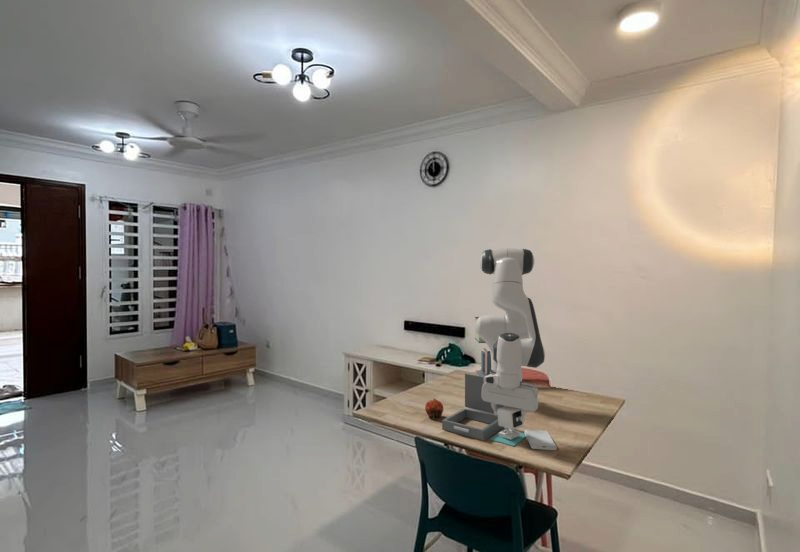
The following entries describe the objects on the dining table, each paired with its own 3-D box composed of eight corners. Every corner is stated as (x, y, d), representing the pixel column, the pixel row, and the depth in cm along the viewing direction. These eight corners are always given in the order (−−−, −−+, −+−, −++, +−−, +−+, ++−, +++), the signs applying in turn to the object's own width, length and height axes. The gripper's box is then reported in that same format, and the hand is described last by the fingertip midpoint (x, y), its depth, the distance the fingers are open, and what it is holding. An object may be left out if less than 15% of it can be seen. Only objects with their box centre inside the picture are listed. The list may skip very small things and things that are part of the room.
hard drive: (524, 429, 155) (531, 444, 143) (547, 430, 155) (556, 445, 142) (524, 433, 155) (531, 449, 143) (547, 435, 155) (556, 450, 142)
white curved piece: (507, 375, 240) (507, 316, 240) (513, 381, 226) (513, 320, 226) (474, 374, 241) (474, 316, 240) (478, 381, 227) (479, 320, 226)
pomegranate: (443, 425, 171) (447, 404, 178) (439, 414, 166) (442, 393, 174) (425, 425, 173) (430, 404, 181) (421, 414, 169) (425, 393, 177)
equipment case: (465, 416, 175) (465, 373, 174) (507, 426, 164) (507, 380, 163) (441, 429, 160) (441, 383, 160) (484, 442, 149) (484, 392, 149)
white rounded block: (513, 441, 147) (510, 411, 148) (497, 436, 153) (495, 408, 153) (524, 436, 151) (522, 407, 151) (509, 431, 157) (506, 404, 157)
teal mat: (504, 429, 160) (504, 428, 160) (527, 435, 155) (527, 434, 155) (489, 440, 151) (489, 438, 151) (513, 446, 145) (513, 445, 145)
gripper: (541, 382, 148) (540, 422, 149) (487, 373, 161) (487, 409, 161) (534, 386, 143) (534, 427, 144) (479, 376, 156) (479, 414, 156)
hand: (508, 418), depth 153 cm, fingers open, 8 cm apart
